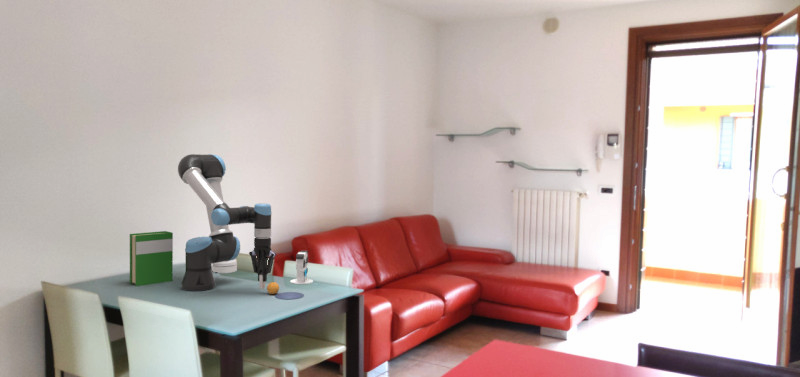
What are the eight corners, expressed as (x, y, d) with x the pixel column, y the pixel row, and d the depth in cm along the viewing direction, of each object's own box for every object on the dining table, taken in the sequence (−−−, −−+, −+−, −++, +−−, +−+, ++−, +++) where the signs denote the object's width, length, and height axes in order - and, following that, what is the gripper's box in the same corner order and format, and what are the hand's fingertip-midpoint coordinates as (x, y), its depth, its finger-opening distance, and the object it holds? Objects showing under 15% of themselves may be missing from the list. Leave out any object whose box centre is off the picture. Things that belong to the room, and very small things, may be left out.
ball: (274, 283, 261) (275, 295, 261) (281, 280, 266) (281, 292, 266) (264, 283, 263) (265, 295, 263) (270, 281, 268) (271, 292, 268)
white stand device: (310, 284, 285) (310, 254, 284) (287, 284, 286) (288, 253, 285) (314, 279, 297) (315, 250, 296) (292, 278, 298) (293, 249, 297)
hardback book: (136, 286, 273) (136, 235, 271) (129, 283, 278) (129, 233, 276) (172, 280, 286) (172, 232, 284) (165, 278, 291) (165, 231, 289)
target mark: (269, 297, 258) (269, 297, 258) (283, 291, 270) (283, 290, 270) (295, 300, 254) (295, 300, 254) (308, 294, 266) (308, 293, 266)
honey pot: (241, 271, 314) (241, 238, 313) (219, 274, 304) (220, 240, 303) (229, 267, 322) (229, 235, 321) (207, 270, 313) (207, 237, 312)
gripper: (245, 237, 263) (245, 288, 265) (270, 239, 259) (270, 291, 261) (254, 235, 271) (254, 285, 272) (279, 237, 267) (278, 287, 268)
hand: (262, 288), depth 266 cm, fingers closed
